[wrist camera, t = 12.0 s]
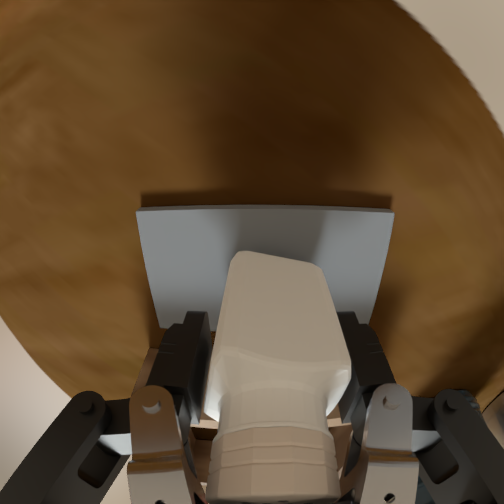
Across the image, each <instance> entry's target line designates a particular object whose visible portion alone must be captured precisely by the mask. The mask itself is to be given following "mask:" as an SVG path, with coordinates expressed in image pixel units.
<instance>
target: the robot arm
mask: <svg viewBox="0 0 504 504" xmlns="http://www.w3.org/2000/svg"><path fill="white" fill-rule="evenodd" d="M336 313H337V316H338V319H339V323H340V326H341V329H342V332H343V336H344V339H345V342H346V346H347V349H348V352H349V356H350V359H351V380H350V382H349V384H348V386H347V388H346V390H345V392H344V394H343V396H342V397H341V399H340V400H339V402H338V407H339V412H340V417H341V422H342V424H344V423H351V425H352V429H353V430H352V432H351V434H350V437H349V442H348V447H347V451H346V456H345V460H344V465H343V469H342V473H341V477H340V480H339V483H340V492H341V496H340V498H339V499H338V500H337V501H335V502H334V503H331V504H415V499H416V491H417V482H418V475H419V476H420V478H421V480H422V481H423V483H424V485H425V486H426V488H427V490H428V492H429V493H430V495H431V497H432V498H433V500H434V502H435V503H436V504H504V392H503V393H502V394H501V395H500V396H499V397H497V398H496V399H495V400H494V401H493V402H492V403H491V404H490V405H489V406H488V407H487V408H486V410H485V411H484V412H483V413H482V415H483V418H484V420H485V422H486V424H487V425H486V424H485V423H484V421H483V420H482V419H481V418H480V416H479V415H478V414H477V412H476V411H475V410H474V408H473V407H472V406H471V405H470V403H469V402H468V401H467V400H466V398H465V397H464V396H463V395H462V394H461V393H460V392H458V391H456V390H453V389H445V390H442V391H440V392H439V393H438V394H437V395H436V397H435V398H423V397H414V396H411V395H410V393H409V392H408V390H406V389H405V388H404V387H402V386H400V385H398V384H397V383H396V381H395V379H394V376H393V374H392V371H391V369H390V366H389V364H388V361H387V359H386V356H385V354H384V352H383V349H382V347H381V344H379V340H378V337H377V335H376V333H375V331H374V330H373V329H372V328H371V327H370V326H368V325H367V324H366V323H365V324H359V322H358V319H357V317H356V314H355V312H354V311H341V312H336ZM211 353H212V340H211V332H210V325H209V317H208V312H207V311H187V313H186V315H185V318H184V321H183V324H180V323H174V324H173V325H172V326H171V327H170V328H169V329H168V330H167V331H166V332H165V334H164V336H163V339H162V342H161V344H160V347H159V350H158V353H157V355H156V358H155V361H154V363H153V366H152V369H151V372H150V374H149V377H148V380H147V383H146V385H145V387H142V388H140V389H138V390H137V391H135V392H134V393H133V395H132V396H131V398H128V399H121V400H109V401H105V400H104V399H103V397H102V396H101V395H100V394H98V393H96V392H93V391H84V392H81V393H78V394H77V395H75V396H74V397H73V398H72V399H71V400H70V402H69V403H68V404H67V405H66V407H65V408H64V409H63V410H62V412H61V413H60V414H59V415H58V417H57V418H56V419H55V420H54V421H53V423H52V424H51V425H50V426H49V428H48V429H47V430H46V431H45V433H44V434H43V435H42V437H41V438H40V439H39V440H38V442H37V443H36V444H35V445H34V447H33V448H32V450H31V451H30V452H29V453H28V455H27V456H26V457H25V459H24V460H23V461H22V463H21V464H20V465H19V467H18V468H17V469H16V471H15V472H14V473H13V475H12V476H11V477H10V479H9V480H8V482H7V483H6V484H5V486H4V487H3V489H2V490H1V491H0V504H100V502H101V501H102V499H103V498H104V496H105V495H106V493H107V491H108V490H109V488H110V487H111V485H112V484H113V482H114V480H115V479H116V477H117V476H118V474H119V472H120V471H121V469H122V468H123V466H124V465H125V463H126V461H127V460H128V458H129V457H130V455H131V454H132V461H130V462H129V463H128V465H127V476H128V484H129V492H130V499H131V504H208V502H207V501H206V500H205V493H204V490H203V488H202V485H201V483H200V480H199V476H198V472H197V468H196V464H195V460H194V456H193V452H192V448H191V444H190V439H189V430H190V425H191V424H197V425H199V423H200V417H201V411H202V405H203V399H204V393H205V388H206V382H207V376H208V371H209V365H210V359H211ZM487 426H488V427H487ZM444 442H445V443H444ZM446 445H447V446H446ZM448 448H449V449H448ZM450 451H451V452H450ZM452 454H453V455H452ZM454 457H455V458H454ZM456 460H457V461H456ZM384 500H385V501H384Z"/></svg>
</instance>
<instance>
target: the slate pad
mask: <svg viewBox="0 0 504 504" xmlns="http://www.w3.org/2000/svg"><path fill="white" fill-rule="evenodd" d="M394 214H395V213H394V212H393V211H391V210H390V209H381V208H362V207H340V206H308V205H194V206H163V207H141V208H139V209H138V210H137V211H136V216H137V222H138V228H139V234H140V240H141V246H142V251H143V256H144V261H145V266H146V271H147V276H148V280H149V285H150V289H151V294H152V298H153V302H154V306H155V310H156V314H157V318H158V322H159V326H160V328H167V329H169V328H170V327H171V326H172V325H173V324H174V323H180V324H183V321H184V318H185V315H186V313H187V311H207V312H208V317H209V325H210V331H217V325H218V320H219V315H220V310H221V305H222V301H223V296H224V291H225V286H226V281H227V276H228V271H229V267H230V262H231V260H232V259H233V257H234V256H235V255H236V253H237V252H239V251H252V252H257V253H263V254H268V255H273V256H278V257H283V258H288V259H293V260H299V261H304V262H309V263H312V264H314V265H316V266H318V267H319V268H321V269H322V271H323V274H324V277H325V280H326V283H327V286H328V289H329V292H330V295H331V298H332V301H333V304H334V307H335V310H336V312H341V311H354V312H355V314H356V317H357V319H358V322H359V324H365V323H366V324H367V325H368V324H369V321H370V318H371V314H372V311H373V307H374V304H375V300H376V297H377V293H378V289H379V285H380V281H381V277H382V273H383V269H384V265H385V260H386V256H387V251H388V246H389V241H390V236H391V231H392V225H393V220H394Z"/></svg>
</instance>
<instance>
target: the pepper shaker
mask: <svg viewBox="0 0 504 504" xmlns="http://www.w3.org/2000/svg"><path fill="white" fill-rule="evenodd" d="M350 380H351V359H350V356H349V352H348V349H347V346H346V342H345V339H344V336H343V332H342V329H341V326H340V323H339V319H338V316H337V313H336V310H335V307H334V304H333V301H332V298H331V295H330V292H329V289H328V286H327V283H326V280H325V277H324V274H323V271H322V269H321V268H319V267H318V266H316V265H314V264H312V263H309V262H304V261H299V260H293V259H288V258H283V257H278V256H273V255H268V254H263V253H257V252H252V251H239V252H237V253H236V255H235V256H234V257H233V259H232V260H231V262H230V267H229V271H228V276H227V281H226V286H225V291H224V296H223V301H222V305H221V310H220V315H219V320H218V325H217V331H216V336H215V341H214V346H213V351H212V356H211V362H210V368H209V374H208V380H207V387H206V394H205V400H204V408H203V409H204V413H206V414H207V415H208V416H210V417H211V418H213V419H214V420H216V421H217V422H219V424H218V432H217V435H216V436H215V438H214V439H213V441H212V448H211V456H210V458H211V461H210V464H209V471H208V472H209V473H210V475H209V476H208V479H207V487H206V494H205V500H206V501H207V502H208V503H209V504H331V503H334V502H335V501H337V500H338V499H339V498H340V496H341V492H340V483H339V475H338V472H337V471H336V470H337V468H338V467H337V460H336V458H335V457H334V456H335V454H336V452H335V445H334V438H333V436H332V434H331V433H330V432H329V430H328V423H327V416H328V415H329V414H330V412H331V411H332V410H333V409H334V408H335V406H336V405H337V403H338V402H339V400H340V399H341V397H342V396H343V394H344V392H345V390H346V388H347V386H348V384H349V382H350Z"/></svg>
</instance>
